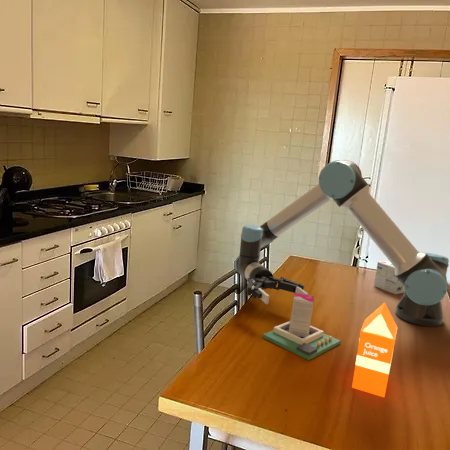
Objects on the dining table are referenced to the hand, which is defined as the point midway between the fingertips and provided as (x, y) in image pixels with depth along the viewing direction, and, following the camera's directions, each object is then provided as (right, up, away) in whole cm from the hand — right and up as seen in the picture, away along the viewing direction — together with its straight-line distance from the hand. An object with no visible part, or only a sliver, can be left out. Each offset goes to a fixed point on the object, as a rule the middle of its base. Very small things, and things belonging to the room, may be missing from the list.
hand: (287, 299), depth 136 cm
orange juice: (+16, -16, -28) cm, 36 cm away
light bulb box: (+48, -4, +46) cm, 66 cm away
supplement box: (+2, -9, -6) cm, 11 cm away
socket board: (+3, -11, -8) cm, 14 cm away
